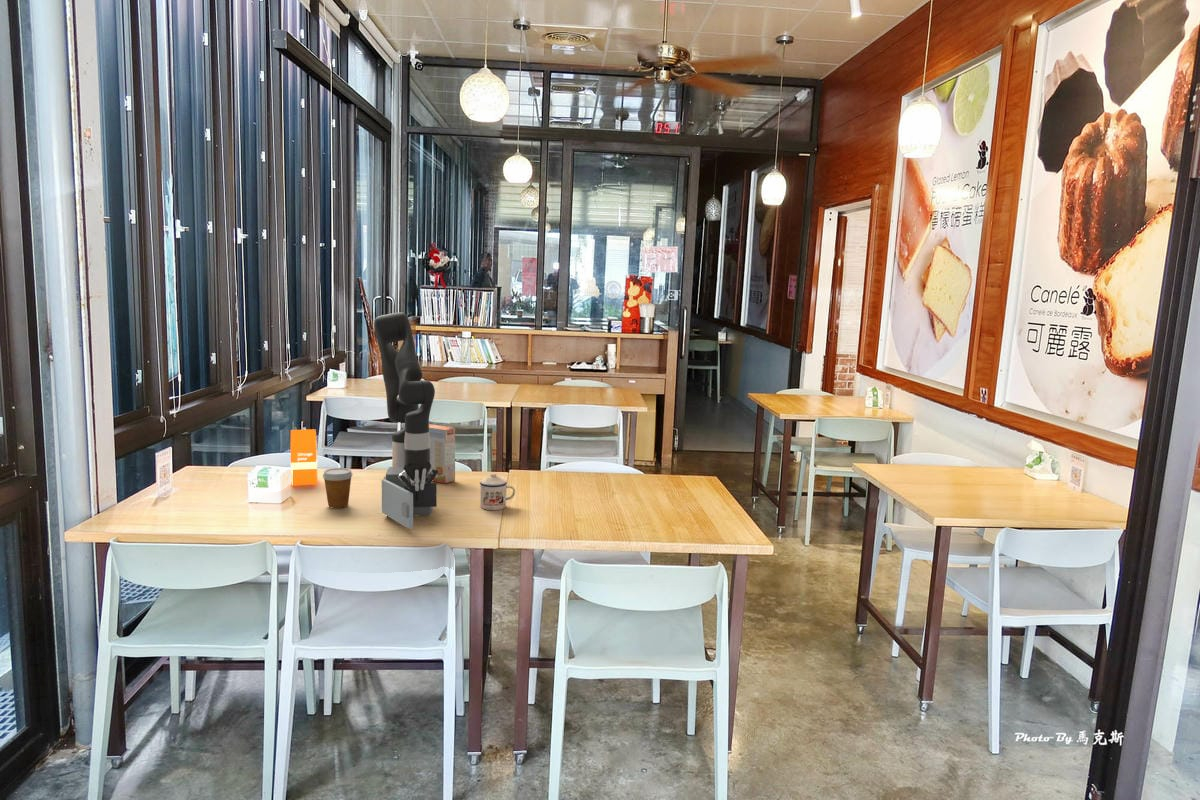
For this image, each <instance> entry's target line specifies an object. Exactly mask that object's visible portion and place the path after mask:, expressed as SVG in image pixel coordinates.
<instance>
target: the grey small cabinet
mask: <svg viewBox="0 0 1200 800" xmlns="http://www.w3.org/2000/svg"><path fill="white" fill-rule="evenodd" d="M403 471H404V467H392V466H389V467H388V468H387V471H386V473H385V476H383V479H386V480H388V481H390V482H392V483H394V484H396V485H398V486H400V487H401V488H403V489H405V490H407V491H409V492H411V493H413V490H410V489H409V488H407V487H406V486H405V485H404V484H403V483H402V482H401V480H400V479H399V478H398V477H397V474H401V473H402V472H403ZM406 475H407V474H406ZM427 475H428V474H427ZM427 475H426V476H427ZM425 478H426V477H425ZM406 479H407V480H408V481H409V482H410V484H411V481H410V477H409V476H408V475H407V478H406ZM437 483H438V482H433V481H432V482H431V484H430V485H429V487H426V488H424V489H423V500H422V502H415V500H413V515H427V516H426V517H429V516H428V515H430V514H432V509H433V508H437V507H438V506H437V497H438V496H437V495H438V494H437V492H438V491H437ZM430 516H431V515H430Z"/></svg>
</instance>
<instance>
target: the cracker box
mask: <svg viewBox="0 0 1200 800" xmlns="http://www.w3.org/2000/svg"><path fill="white" fill-rule="evenodd" d="M429 436H430V464H431V467H432V468H433V469H436V470H437V471H438V473H437V474H436V476H435V478H434V479H433V481H432V482H434V483H440V484H447V483H452V482H454V481H456V428H455V427H451V426H446V425H445V426H444V425H438V424H431V423H429Z"/></svg>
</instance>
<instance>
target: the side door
mask: <svg viewBox="0 0 1200 800" xmlns="http://www.w3.org/2000/svg"><path fill="white" fill-rule="evenodd" d="M381 514H383V515H385V516H386V515H387V516H388V518H390V519H392V520H393V521H395V522H396V523H397V524H400V525H402V526H404V527H405V528H407V529H409V530H413V529H414V516H413V493H411V492H409V491H407V490H405V489H403V488H401V487H400V486H398V485H396V484H394V483H392V482H390V481H388V480H386V479H384V478H383V479H381Z"/></svg>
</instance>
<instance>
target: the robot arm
mask: <svg viewBox="0 0 1200 800" xmlns="http://www.w3.org/2000/svg"><path fill="white" fill-rule="evenodd" d="M409 319H410V318H409V317H408V315H407V314H406V313H405V312H403V311H401V312H399V311H398V312H393V313H387V314H382V315H379V316H377V317H375V319H374V323H373V324H374V325H373V326H374V333H375V336H376V340H377V341H376V342H377V345H378V349H379V350H378V351H379V353H380V354H379V355H380V360H381V362H380V363H381V371H382V372H381V373H382V378H383V382H384V386H385V393H386V406H387V407H386V408H387V410H386V411H387V415H388V419H389V421H390V422H392V423H403V424H404V428H403V429H400V430H396V431H394V432H393V433H392V435H391V443H392V444H391V445H392V446H391V449H392V450H391V451H392V454H391V455H392V464H391V465H392V466H391V467H404V471H403V472H402V473H401V474H397V477H398V478H399V479H400V480H401V482H402V483H403V484H404V485H405V486H406V487H407V488H409V489H410V490H413V500H415V502H422V500H423V489H424V488H426V487H429V485H430V484H431V482H432V483H433V482H434V481H433V479H434V478H435V476H436V474H437V473H438V471H437V470H436V469H433V468H432V467H431V464H430V436H429V424H430V413H431V409H432V405H433V403H434V399H435V396H436V395H435V393H436V389H435V386H434V384H433V382H432V381H430V380H422V379H423V371H422V368H421V366H420V362H419V360H418V357H417V353H416V345H415V341H414V335H413V330H412V327H411V322H410V320H409ZM401 341H403V342H402V344H401V346H400V348H399V349H398V350H396V349H395V348H394V347H393V346H392V345H391V343H396V342H401ZM406 474H407V475H408V476H409V477H410V481H411V484H410V482H409V481H408V480H407V479H406V478H407V475H406ZM427 474H428V475H427ZM426 475H427V476H426ZM425 477H426V478H425Z"/></svg>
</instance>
